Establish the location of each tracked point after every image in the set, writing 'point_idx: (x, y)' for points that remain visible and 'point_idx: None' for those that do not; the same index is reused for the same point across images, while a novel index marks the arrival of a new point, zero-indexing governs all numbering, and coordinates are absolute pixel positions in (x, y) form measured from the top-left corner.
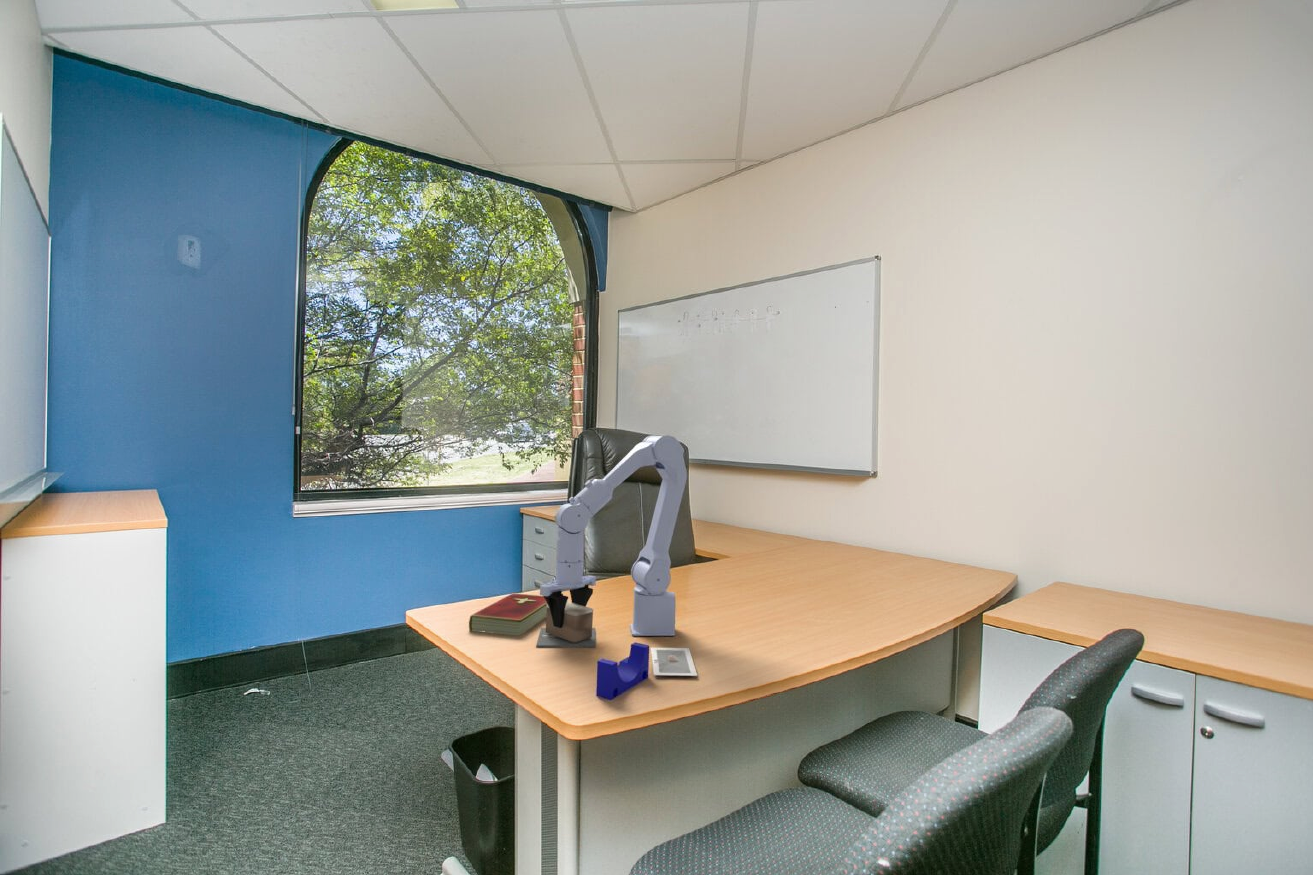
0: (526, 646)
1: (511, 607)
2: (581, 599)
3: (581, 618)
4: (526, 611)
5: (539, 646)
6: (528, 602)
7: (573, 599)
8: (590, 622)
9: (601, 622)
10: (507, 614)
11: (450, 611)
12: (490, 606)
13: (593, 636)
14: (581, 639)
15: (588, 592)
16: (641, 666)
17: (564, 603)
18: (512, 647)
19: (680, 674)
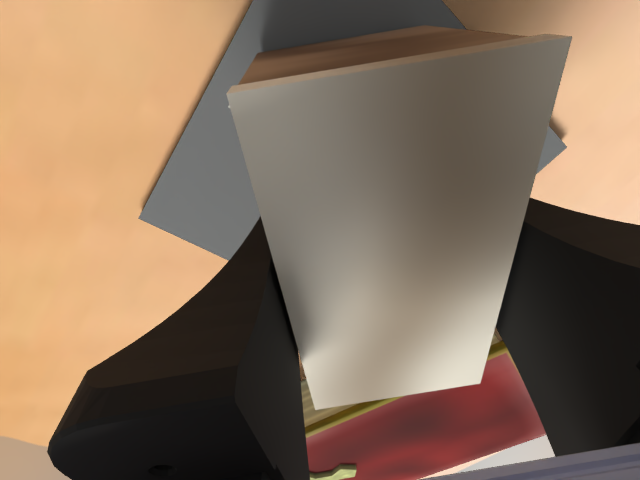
0: (569, 180)
1: (403, 449)
2: (273, 328)
3: (423, 47)
4: (397, 411)
5: (554, 135)
6: (315, 468)
7: (297, 379)
8: (273, 66)
9: (60, 285)
10: (477, 407)
11: (434, 476)
12: (442, 466)
13: (223, 85)
14: (358, 37)
15: (195, 370)
16: None
17: (625, 248)
18: (610, 201)
19: None
